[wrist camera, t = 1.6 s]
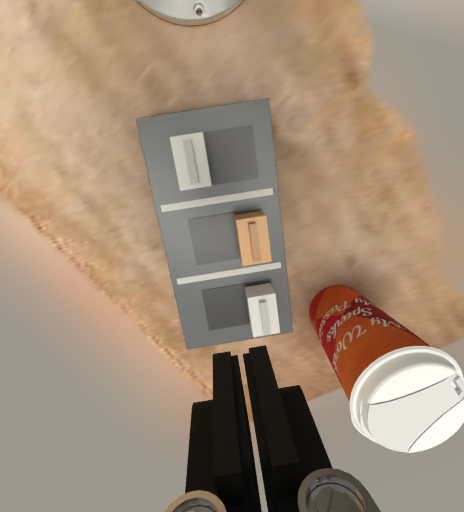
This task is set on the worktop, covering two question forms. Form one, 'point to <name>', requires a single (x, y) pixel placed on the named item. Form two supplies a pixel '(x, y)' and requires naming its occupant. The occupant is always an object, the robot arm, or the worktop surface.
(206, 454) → the robot arm
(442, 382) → the coffee cup
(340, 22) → the worktop surface
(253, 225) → the switch
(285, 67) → the worktop surface
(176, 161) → the switch
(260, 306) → the switch
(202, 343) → the switch panel
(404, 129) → the worktop surface
